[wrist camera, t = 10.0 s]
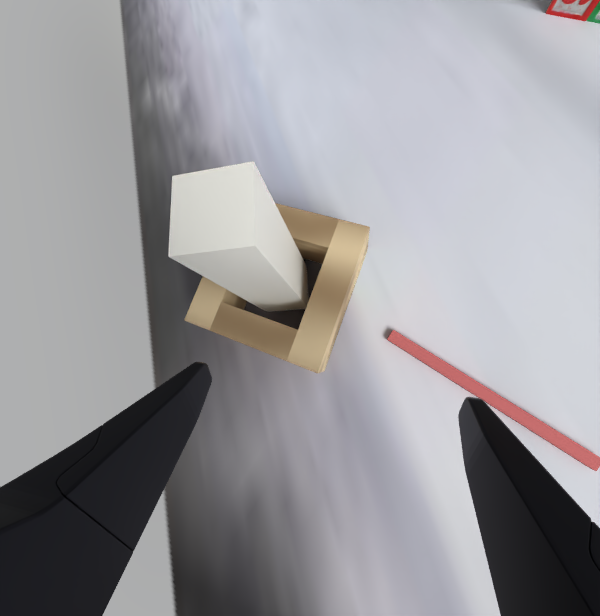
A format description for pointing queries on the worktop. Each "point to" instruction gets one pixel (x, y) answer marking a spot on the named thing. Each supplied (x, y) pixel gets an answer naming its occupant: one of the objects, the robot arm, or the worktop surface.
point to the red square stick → (497, 402)
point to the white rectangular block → (237, 237)
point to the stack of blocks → (576, 9)
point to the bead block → (322, 304)
